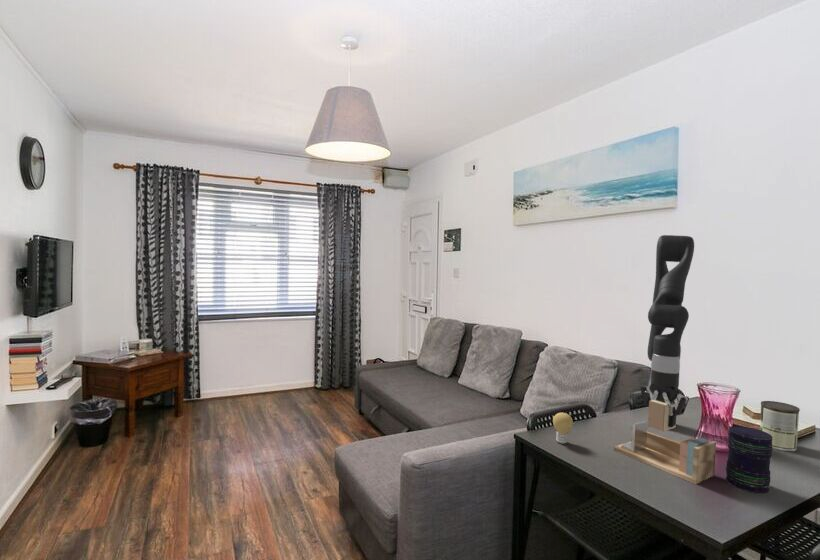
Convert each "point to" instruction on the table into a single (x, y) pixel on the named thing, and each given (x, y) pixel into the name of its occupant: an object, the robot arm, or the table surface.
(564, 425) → the light bulb
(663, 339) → the robot arm
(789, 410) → the coffee can
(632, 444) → the bookend
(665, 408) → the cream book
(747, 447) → the storage jar
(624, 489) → the table surface
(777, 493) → the table surface
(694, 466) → the rack
